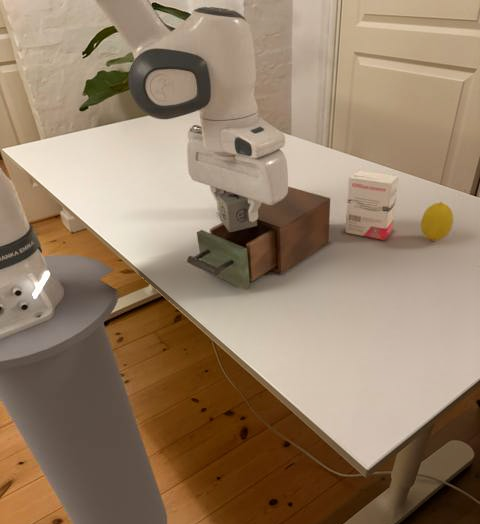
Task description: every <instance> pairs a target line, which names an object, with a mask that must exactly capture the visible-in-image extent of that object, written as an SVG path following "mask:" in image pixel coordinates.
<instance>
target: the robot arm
mask: <svg viewBox="0 0 480 524" xmlns="http://www.w3.org/2000/svg"><path fill="white" fill-rule="evenodd" d="M94 1H95V3H96V4H97V6H98V7H99V8H100V9H101V11H102V12H103V13H104V15H105V16H106V17H107V19H108V21H110V23H111V24H112V26H113V27H114V29H116V31H117V32H118V34H119V35H120V36H121V38H122V40H123V41H124V42H125V43H126V45H127V46H128V48H129V49H130V51H131V54H132V56H133V61H132V63H131V65H130V68H129V70H128V89H129V92H130V95H131V99H133V101H134V103H135V104H136V106H137V107H138V108H139V109H140V110H141V111H142V112H143V113H145V114H146V115H147V116H150V117H151V118H154V119H157V120H171V119H176V118H180V117H182V116H186V115H189V114H192V113H195V112H197V111H198V113H199V121H200V125H199V124H193V125H192V126H191V127H190V128H189V130H188V132H187V138H188V142H187V146H186V157H187V159H186V160H187V170H188V175H189V177H190V179H191V180H192V181H194V182H196V183H200V184H204V185H206V186H210V192H211V194H212V196H213V198H214V200H215V202H216V207H217V211H219V202H218V194H221V193H224V191H227V192H231V193H234V194H237V195H240V196H243V197H246V198H248V203H249V204H251V205H250V207H249V209H248V210H245V211H244V213H245V219H246V220H248V221H251V222H254V221H256V220H257V219H258V209H259V207H260V205H261V203H265V204H268V205H273V204H276V203H278V202H279V201H281V200H283V199H284V198H285V196H286V195H287V193H288V187H289V174H288V173H289V172H288V171H289V170H288V163H287V162H288V161H287V158H286V154H285V153H284V151H282V148H284V147H285V145H286V136H285V134H284V133H283V131H281V130H279V129H277V128H276V127H275V126H274V125H271V124H270V123H269V122H267V121H266V120H264V119H263V117H261V116H259V108H258V107H259V106H258V103H257V100H256V96H255V88H256V82H257V69H256V68H257V67H256V56H255V55H256V54H255V47H254V40H253V34H252V30H251V26H250V23H249V21H248V20H247V19H246V17H244V15H243V14H241V13H239V12H238V11H236V10H233V9H228V8H222V7H216V6H215V7H214V6H210V7H207V6H203V7H202V6H201V7H197V8H195V9H193V11H192V12H191V13H190V15H189V16H188V17H187V18H186V19H185V20H183V22H182V23H180V24H179V25H178V26H177V27H176V28H174V29H173V28H171V27H170V26H169V25H167V24H166V23H165V22H164V21H163V19H161V17H160V16H159V14H158V13H157V12H156V10H155V9H154V7H153V5H152V4H151V2H150V1H149V0H94ZM223 190H224V191H223ZM41 246H42V245H41V241H40V239H39V236H38V234H37V232H36V230H35V228H34V226H33V224H32V223H29V220H28V218H27V215H26V213H25V210H24V207H23V205H22V202H21V200H20V198H19V195H18V192H17V190H16V187H15V185H14V183H13V181H12V180H11V179H10V178H9V177H8V176H7V175H6V173H5V172H4V171H3V169H2V168H1V167H0V339H2V338H5V337H7V336H10V335H12V334H15V333H17V332H20V331H22V330H25V329H27V328H30V327H32V326H35V325H37V324H40V323H42V322H45V321H47V320H50V319H51V318H52V317H53V316H54V312H55V308H56V306H57V305H58V304H59V303H60V301H61V300H62V298H63V296H64V287H63V286H62V285H61V284H60V282H59V281H58V280H57V279H56V277H55V276H54V274H53V273H52V271H51V269H50V268H49V266H48V264H47V263H46V261H45V259H44V257H43V256H44V255H43V249H42V247H41Z"/></svg>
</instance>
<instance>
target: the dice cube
mask: <svg viewBox="0 0 480 524" xmlns="http://www.w3.org/2000/svg"><path fill="white" fill-rule="evenodd" d="M218 202H219V210H218V211H219V220H220V223H223V224H224V226H225V227H226V228H227V229H228V231H229V232H234V231H238V230H242V229H246V228H250V227H254V226H257V220H256V221H254V222H251V221H248V220H246V219H245V213H244V211H245V210H248V209H249V207H250V205H251V204H249V203H248V198H246V197H243V196H240V195H237V194H234V193H231V192H225V193H221V194H218Z"/></svg>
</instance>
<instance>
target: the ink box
mask: <svg viewBox="0 0 480 524" xmlns="http://www.w3.org/2000/svg"><path fill="white" fill-rule="evenodd" d="M399 178H400V177H399V175H394V174H386V173H378V172H371V171H364V170H357V171H356V172H355V173H354V174H352V175H351V176H350V177H348V185H347V200H346V215H345V233H347V234H352V235H356V236H361V237H366V238H372V239H374V240H375V239H376V240H381V241H386V239H388V237H389V236H390V234H391V233H392V231H393V224H394V218H395V211H396V210H395V209H396V202H397V194H398V188H399V187H398V185H399Z"/></svg>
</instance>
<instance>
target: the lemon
mask: <svg viewBox="0 0 480 524" xmlns="http://www.w3.org/2000/svg"><path fill="white" fill-rule="evenodd" d="M420 221H421V222H420V228H421V232H422V234H423V236H424V237H425V238H427V239H429V240H430V241H431V242H435V241H439V240H442V239H444V238H446V237H447V235H448V234H449V233H450V232H451V229H452V227H453V224H454V214H453V211H452V209H451V207H449V206H448V204H445V203H443V202H442V201H438V202H436V203H434V204H431V205H429V206H428V207H427V208H426V210H425V211H424V213H423V214H422V217H421V220H420Z"/></svg>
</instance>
